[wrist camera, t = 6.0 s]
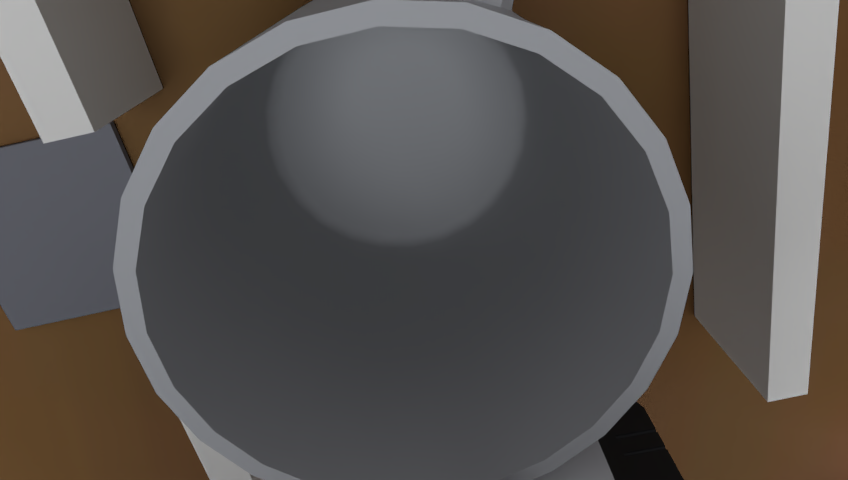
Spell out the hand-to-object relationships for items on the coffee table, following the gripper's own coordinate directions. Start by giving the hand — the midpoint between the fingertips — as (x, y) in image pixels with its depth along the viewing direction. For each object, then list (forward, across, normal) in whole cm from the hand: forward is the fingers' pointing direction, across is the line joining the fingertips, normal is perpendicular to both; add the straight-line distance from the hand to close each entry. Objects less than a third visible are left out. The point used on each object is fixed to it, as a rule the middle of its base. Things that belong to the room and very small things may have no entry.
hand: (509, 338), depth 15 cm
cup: (+3, -1, +6) cm, 7 cm away
